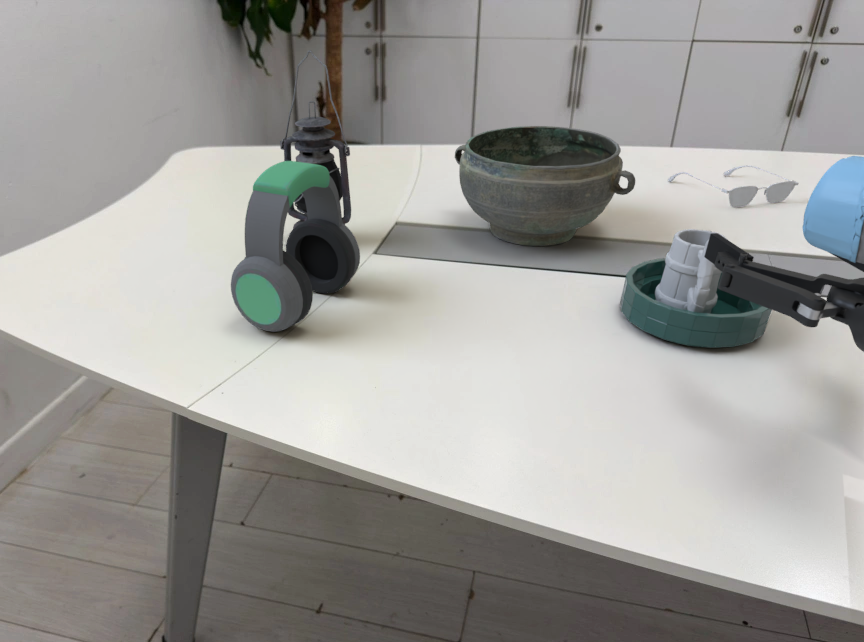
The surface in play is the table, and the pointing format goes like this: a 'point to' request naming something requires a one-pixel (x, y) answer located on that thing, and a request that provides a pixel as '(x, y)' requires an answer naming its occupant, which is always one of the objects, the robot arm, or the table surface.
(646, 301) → the dish
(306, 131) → the lantern
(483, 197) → the bowl
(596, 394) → the table surface
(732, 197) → the eyeglasses
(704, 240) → the mug
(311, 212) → the headphones
